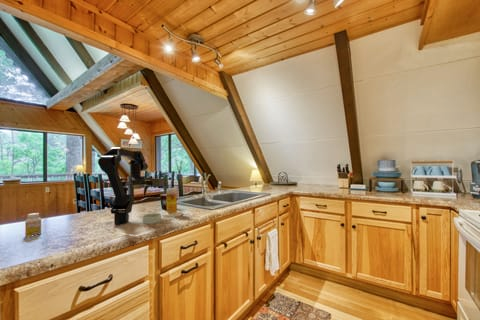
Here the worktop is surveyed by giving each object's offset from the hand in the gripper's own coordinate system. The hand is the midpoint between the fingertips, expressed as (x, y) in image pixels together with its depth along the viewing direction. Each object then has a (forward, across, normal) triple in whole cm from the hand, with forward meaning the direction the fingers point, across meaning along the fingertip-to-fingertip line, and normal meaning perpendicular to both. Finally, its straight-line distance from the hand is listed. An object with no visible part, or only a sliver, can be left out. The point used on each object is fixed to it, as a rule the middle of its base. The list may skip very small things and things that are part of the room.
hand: (135, 197), depth 132 cm
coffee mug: (+12, +22, +14) cm, 29 cm away
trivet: (+12, +20, -8) cm, 24 cm away
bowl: (+12, +6, -17) cm, 22 cm away
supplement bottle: (+12, -44, -9) cm, 47 cm away
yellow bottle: (+10, +20, -8) cm, 23 cm away
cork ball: (+11, +6, -17) cm, 21 cm away
